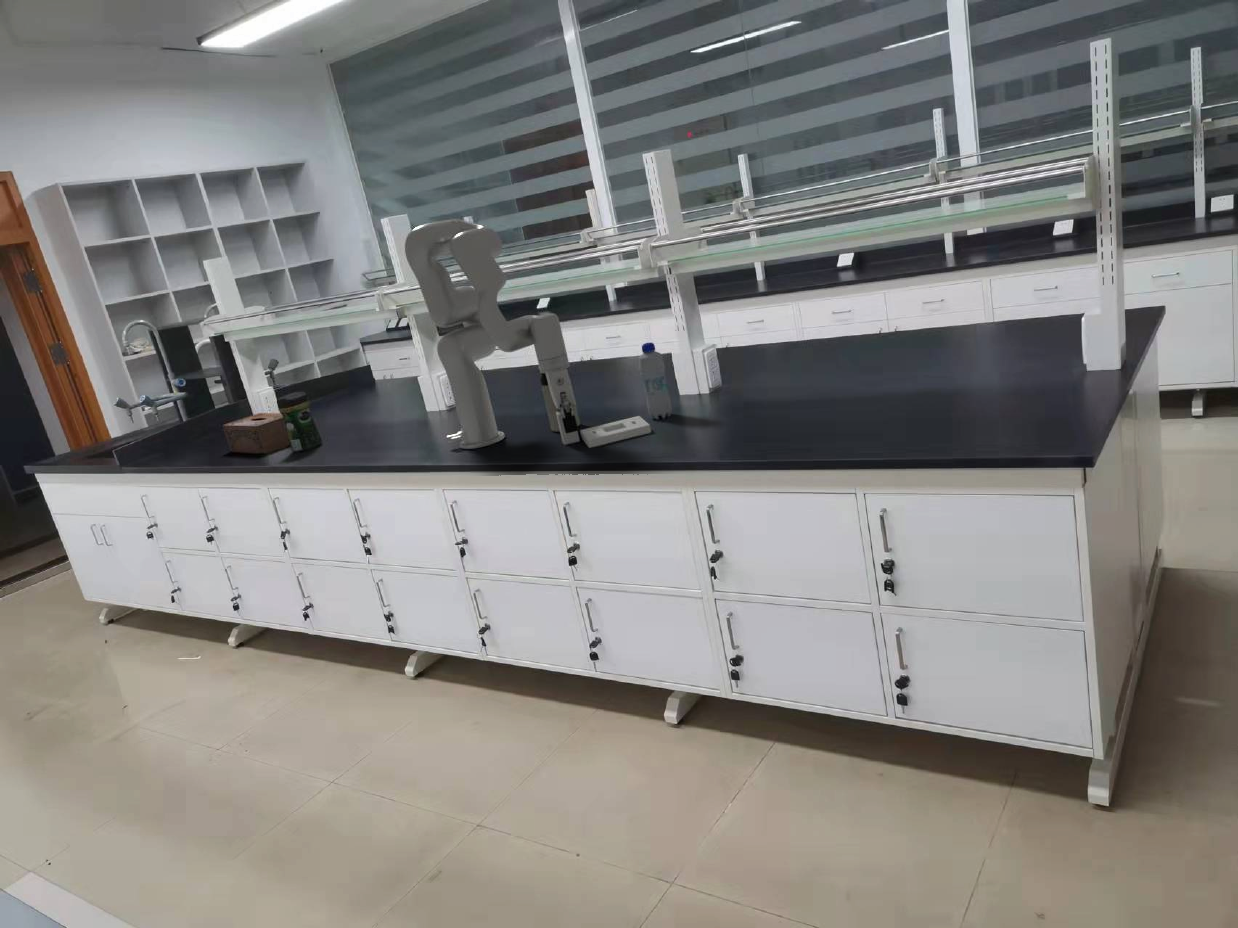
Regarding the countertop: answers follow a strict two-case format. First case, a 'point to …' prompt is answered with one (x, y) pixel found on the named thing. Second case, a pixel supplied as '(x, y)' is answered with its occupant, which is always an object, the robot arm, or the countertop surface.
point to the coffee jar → (299, 421)
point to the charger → (566, 437)
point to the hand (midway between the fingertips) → (569, 428)
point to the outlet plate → (615, 431)
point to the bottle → (654, 382)
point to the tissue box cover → (257, 433)
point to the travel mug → (550, 404)
